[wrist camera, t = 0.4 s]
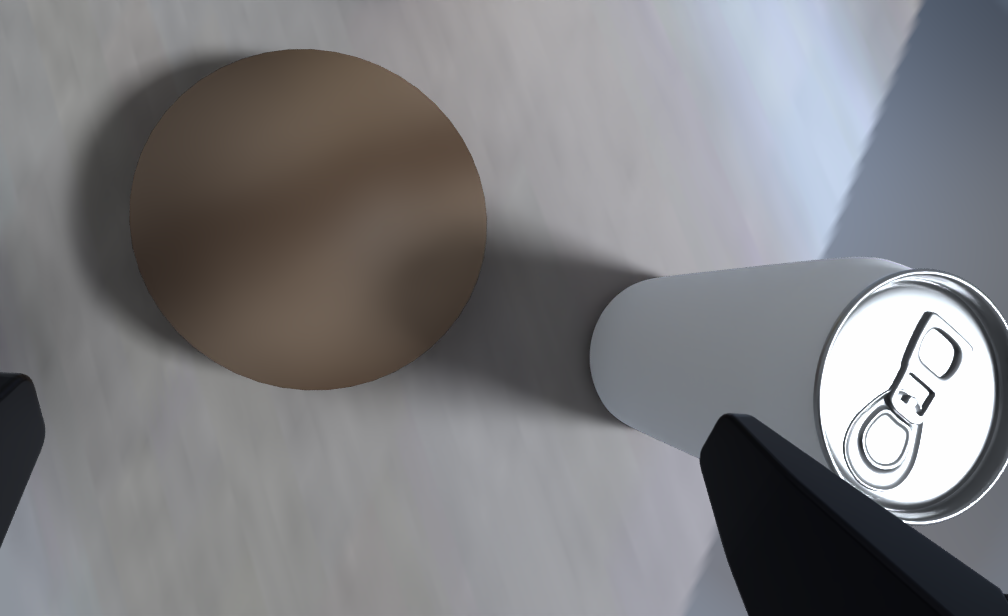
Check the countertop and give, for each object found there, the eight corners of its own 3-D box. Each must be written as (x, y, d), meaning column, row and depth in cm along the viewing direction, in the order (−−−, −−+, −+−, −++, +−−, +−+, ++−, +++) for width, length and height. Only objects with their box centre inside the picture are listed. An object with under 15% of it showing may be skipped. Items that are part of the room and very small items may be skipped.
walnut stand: (519, 303, 23) (537, 302, 20) (247, 434, 21) (231, 451, 18) (398, 37, 22) (402, 3, 19) (98, 144, 20) (60, 121, 17)
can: (554, 374, 23) (744, 440, 12) (642, 246, 24) (900, 187, 12) (672, 462, 24) (952, 601, 13) (752, 337, 25) (1082, 361, 14)
